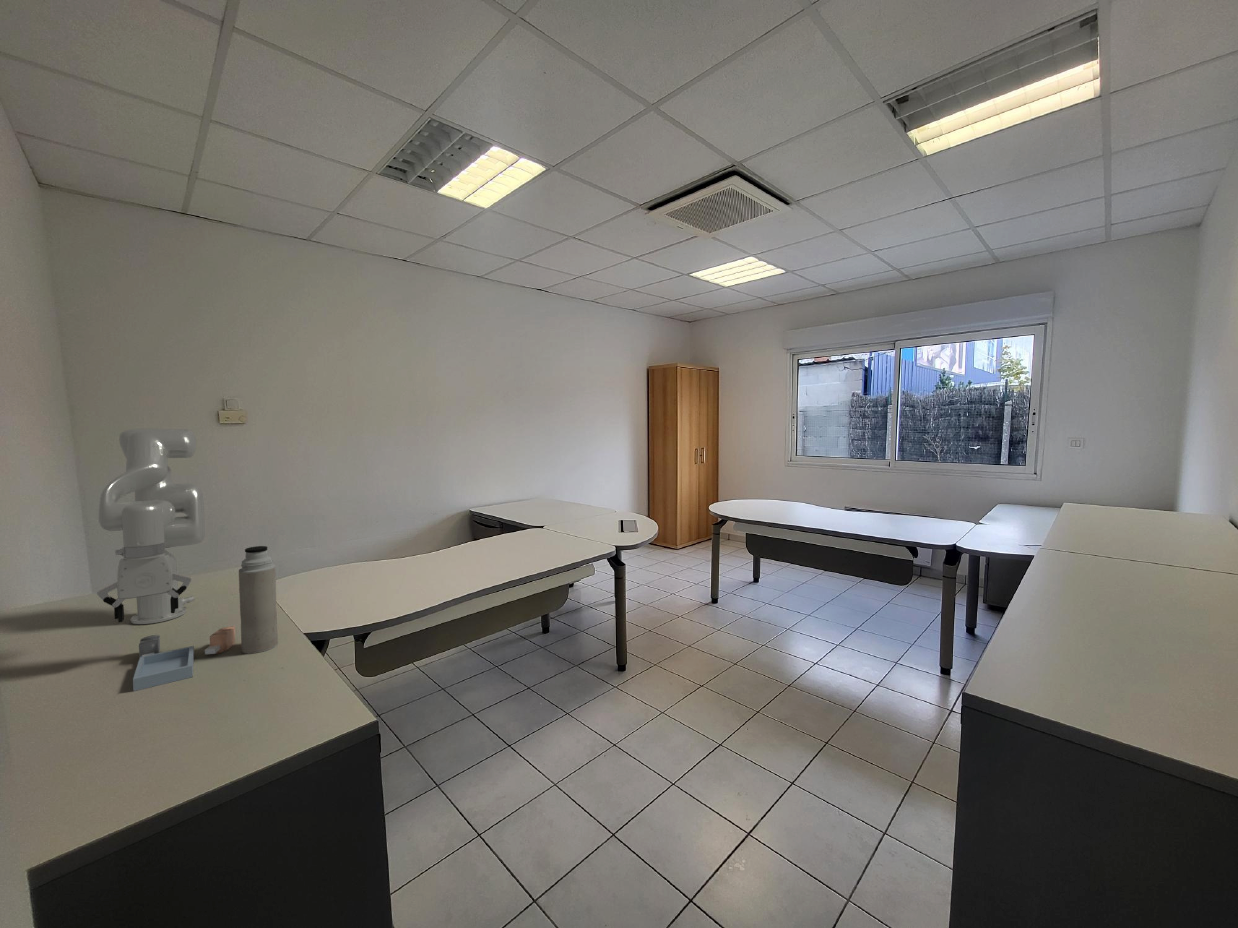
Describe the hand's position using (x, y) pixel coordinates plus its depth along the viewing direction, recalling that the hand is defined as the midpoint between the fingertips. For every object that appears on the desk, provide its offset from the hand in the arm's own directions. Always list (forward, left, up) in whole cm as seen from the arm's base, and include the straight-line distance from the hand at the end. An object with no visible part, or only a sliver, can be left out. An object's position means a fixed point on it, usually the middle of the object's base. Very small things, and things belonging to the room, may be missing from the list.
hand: (147, 616), depth 123 cm
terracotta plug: (-7, +13, -11) cm, 19 cm away
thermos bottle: (-10, +22, -11) cm, 27 cm away
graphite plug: (0, 0, -11) cm, 11 cm away
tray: (+6, +12, -11) cm, 18 cm away
